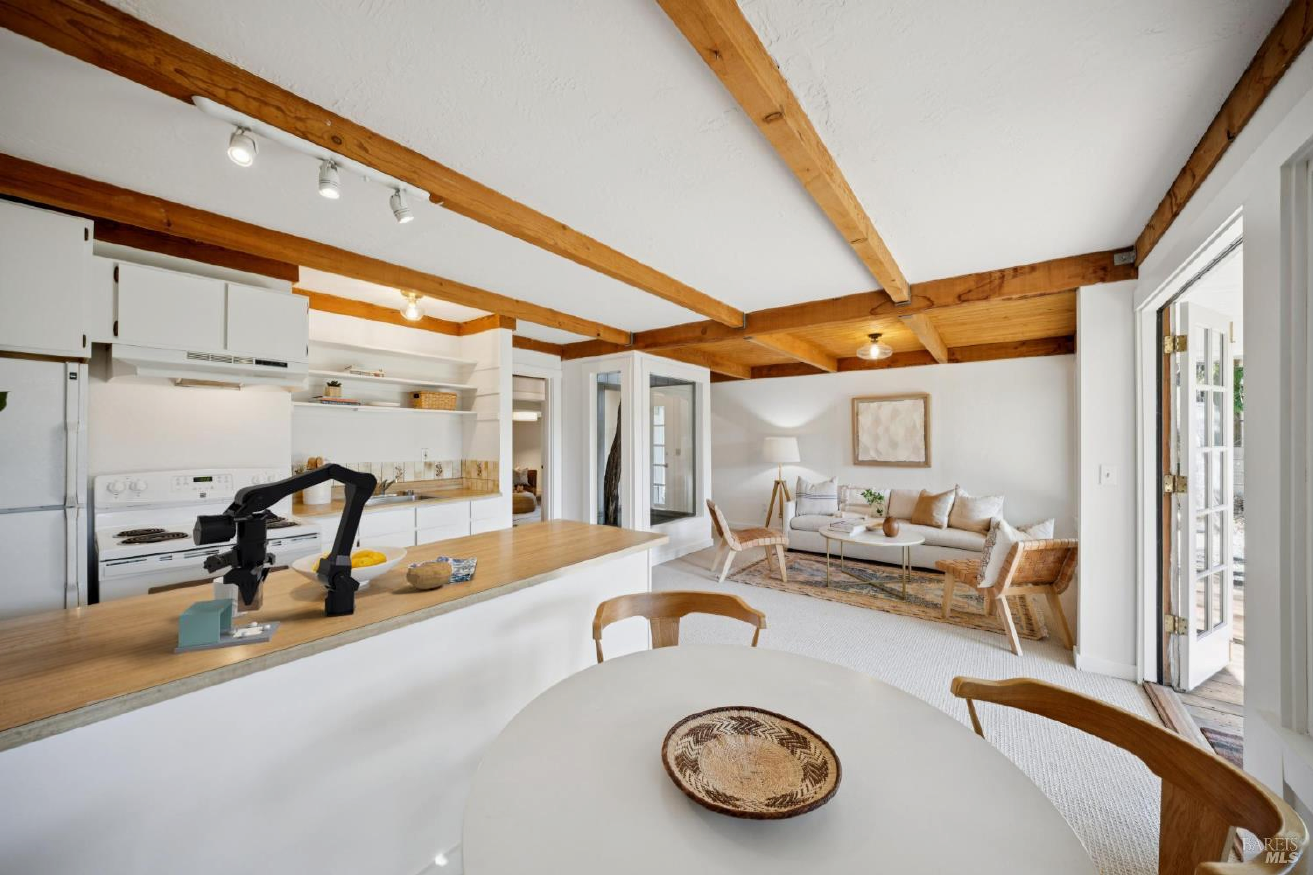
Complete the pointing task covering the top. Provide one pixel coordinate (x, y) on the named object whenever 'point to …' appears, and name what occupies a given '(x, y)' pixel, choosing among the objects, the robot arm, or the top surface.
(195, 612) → the housing cover
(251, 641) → the base plate
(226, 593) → the white cup
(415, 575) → the potato
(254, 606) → the block
